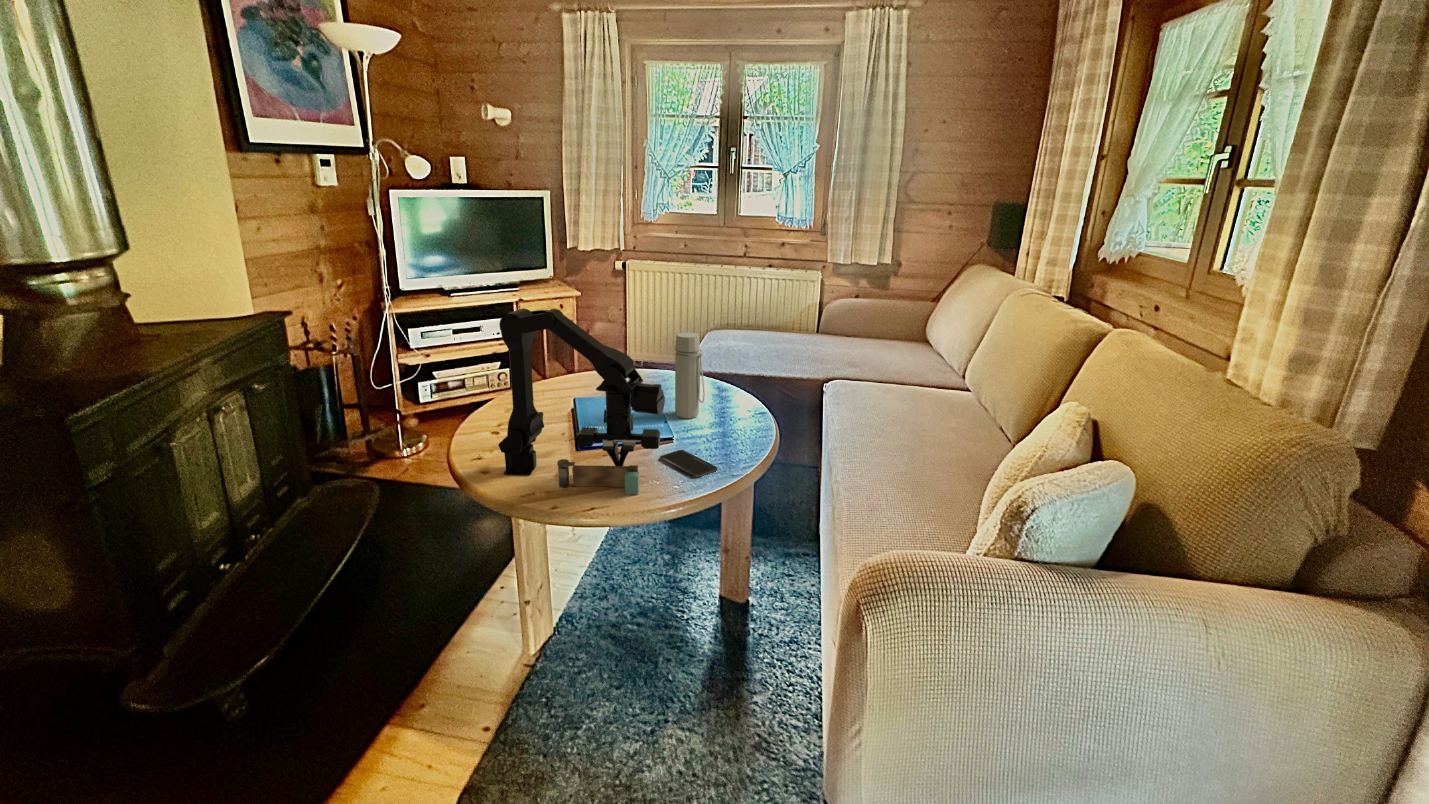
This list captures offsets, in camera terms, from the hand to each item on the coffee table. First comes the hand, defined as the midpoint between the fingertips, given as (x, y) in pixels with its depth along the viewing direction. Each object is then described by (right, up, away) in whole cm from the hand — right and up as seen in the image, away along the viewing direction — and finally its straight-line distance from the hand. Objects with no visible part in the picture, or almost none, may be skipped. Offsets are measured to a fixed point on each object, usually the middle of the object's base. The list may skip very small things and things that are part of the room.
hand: (619, 471), depth 160 cm
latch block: (+3, -4, -3) cm, 7 cm away
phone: (+16, 0, +11) cm, 19 cm away
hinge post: (-13, -3, -1) cm, 13 cm away
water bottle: (+15, +12, +44) cm, 48 cm away
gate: (-5, -3, -1) cm, 6 cm away
